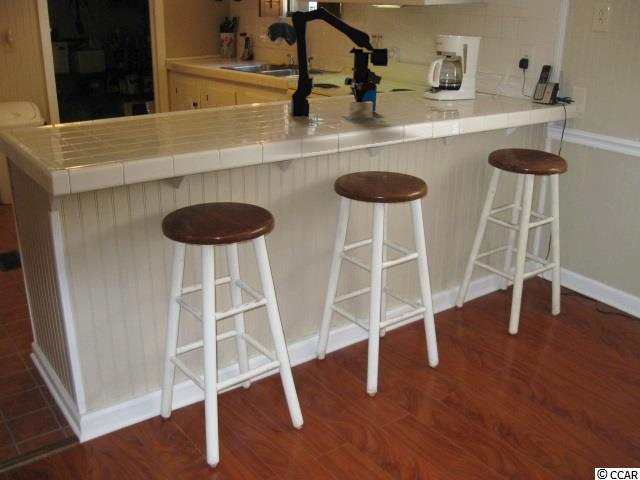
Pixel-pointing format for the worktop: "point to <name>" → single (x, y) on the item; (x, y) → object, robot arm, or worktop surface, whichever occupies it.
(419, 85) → the worktop surface
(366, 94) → the beverage can
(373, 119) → the mat
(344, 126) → the worktop surface
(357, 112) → the rectangular block
